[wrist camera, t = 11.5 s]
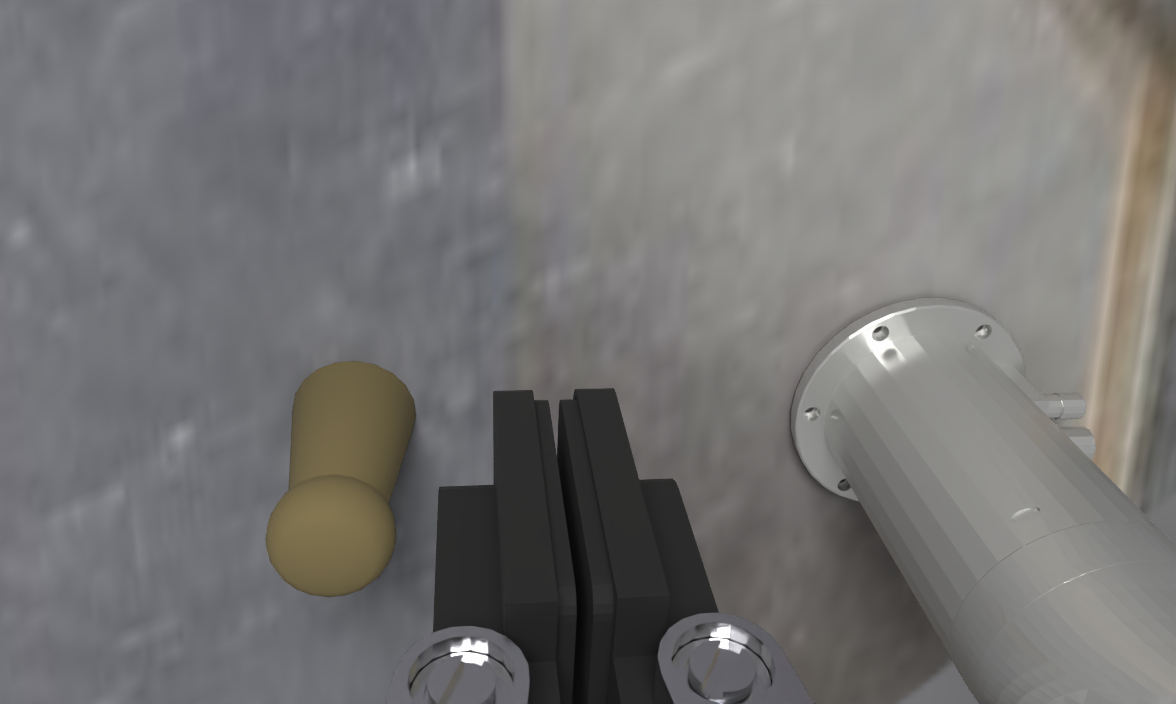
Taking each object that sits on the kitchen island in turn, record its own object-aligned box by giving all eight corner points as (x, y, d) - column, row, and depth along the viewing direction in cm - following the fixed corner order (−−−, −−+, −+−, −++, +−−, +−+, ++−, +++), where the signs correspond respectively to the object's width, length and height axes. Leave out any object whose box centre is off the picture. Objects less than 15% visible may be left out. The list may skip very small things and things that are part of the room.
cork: (274, 375, 44) (223, 525, 35) (396, 349, 44) (378, 491, 35) (316, 472, 47) (278, 633, 38) (429, 447, 47) (421, 602, 38)
